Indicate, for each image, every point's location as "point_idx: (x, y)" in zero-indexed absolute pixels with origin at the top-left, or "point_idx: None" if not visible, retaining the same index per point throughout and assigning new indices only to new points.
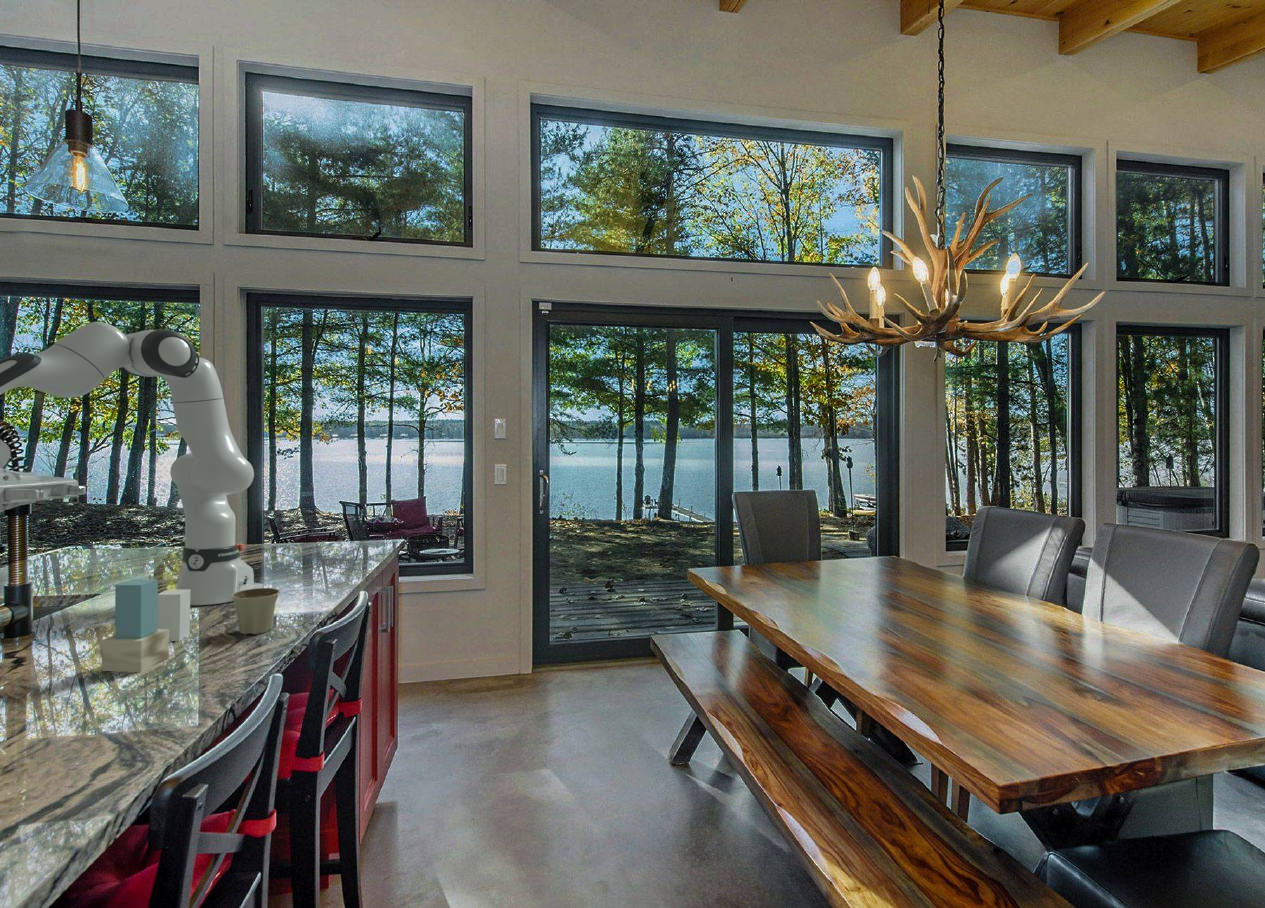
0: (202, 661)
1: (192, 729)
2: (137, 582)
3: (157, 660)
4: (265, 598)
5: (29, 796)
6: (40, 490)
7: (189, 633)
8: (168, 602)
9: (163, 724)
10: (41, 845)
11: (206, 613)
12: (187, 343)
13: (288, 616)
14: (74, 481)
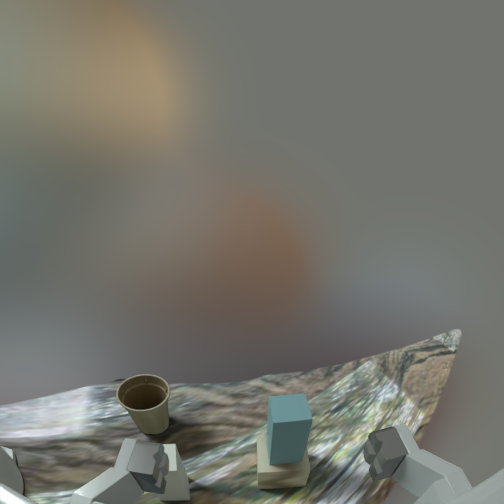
0: (260, 424)
1: (374, 359)
2: (291, 406)
3: None
4: (162, 381)
5: (446, 364)
6: (383, 430)
7: None
8: (178, 462)
9: (377, 373)
10: (452, 339)
11: (60, 484)
12: None
13: (101, 409)
14: (14, 491)
